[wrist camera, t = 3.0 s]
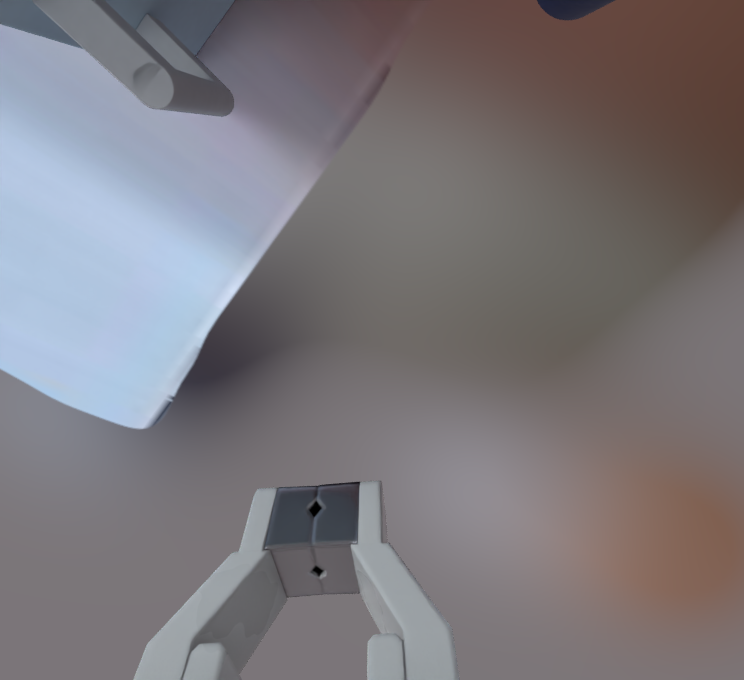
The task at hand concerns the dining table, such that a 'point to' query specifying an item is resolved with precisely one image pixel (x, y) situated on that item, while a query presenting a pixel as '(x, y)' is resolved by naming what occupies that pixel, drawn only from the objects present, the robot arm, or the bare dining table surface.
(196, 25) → the cupboard door
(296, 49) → the dining table surface
